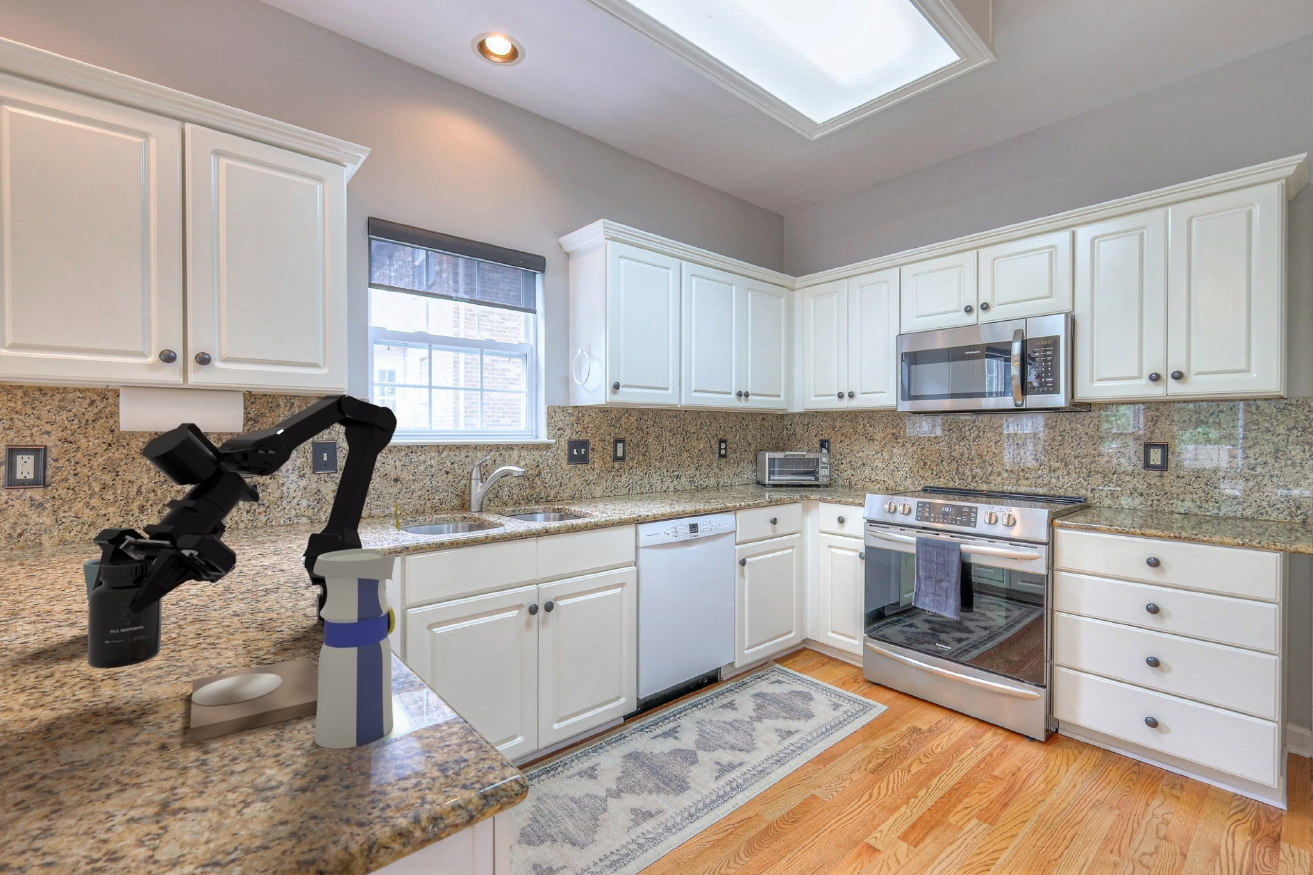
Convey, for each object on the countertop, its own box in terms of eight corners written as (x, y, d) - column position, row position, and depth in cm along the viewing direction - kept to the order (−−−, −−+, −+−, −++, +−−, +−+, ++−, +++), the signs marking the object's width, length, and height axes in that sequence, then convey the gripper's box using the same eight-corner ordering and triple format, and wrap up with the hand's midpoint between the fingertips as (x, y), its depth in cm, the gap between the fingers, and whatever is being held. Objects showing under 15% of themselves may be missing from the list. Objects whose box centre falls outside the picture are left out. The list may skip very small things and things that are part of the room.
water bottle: (374, 706, 72) (376, 497, 72) (410, 727, 66) (413, 502, 67) (299, 731, 65) (301, 502, 66) (332, 757, 60) (335, 508, 60)
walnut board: (310, 668, 83) (310, 656, 83) (329, 710, 71) (329, 695, 71) (192, 691, 76) (192, 677, 76) (189, 742, 63) (190, 726, 63)
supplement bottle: (117, 672, 70) (118, 570, 70) (72, 667, 71) (72, 567, 71) (175, 651, 77) (176, 558, 77) (133, 647, 78) (133, 555, 78)
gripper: (293, 545, 86) (217, 647, 75) (196, 538, 91) (113, 633, 81) (241, 495, 78) (148, 602, 68) (139, 491, 84) (38, 589, 73)
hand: (113, 608), depth 73 cm, fingers closed on supplement bottle, 7 cm apart
